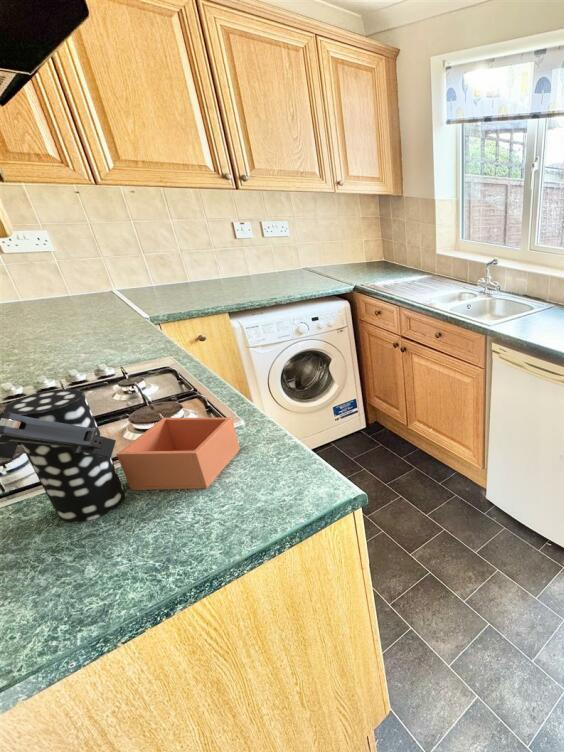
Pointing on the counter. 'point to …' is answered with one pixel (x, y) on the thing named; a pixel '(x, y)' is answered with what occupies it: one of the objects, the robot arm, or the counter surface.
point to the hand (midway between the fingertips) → (62, 449)
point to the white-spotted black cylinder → (70, 459)
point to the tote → (179, 453)
